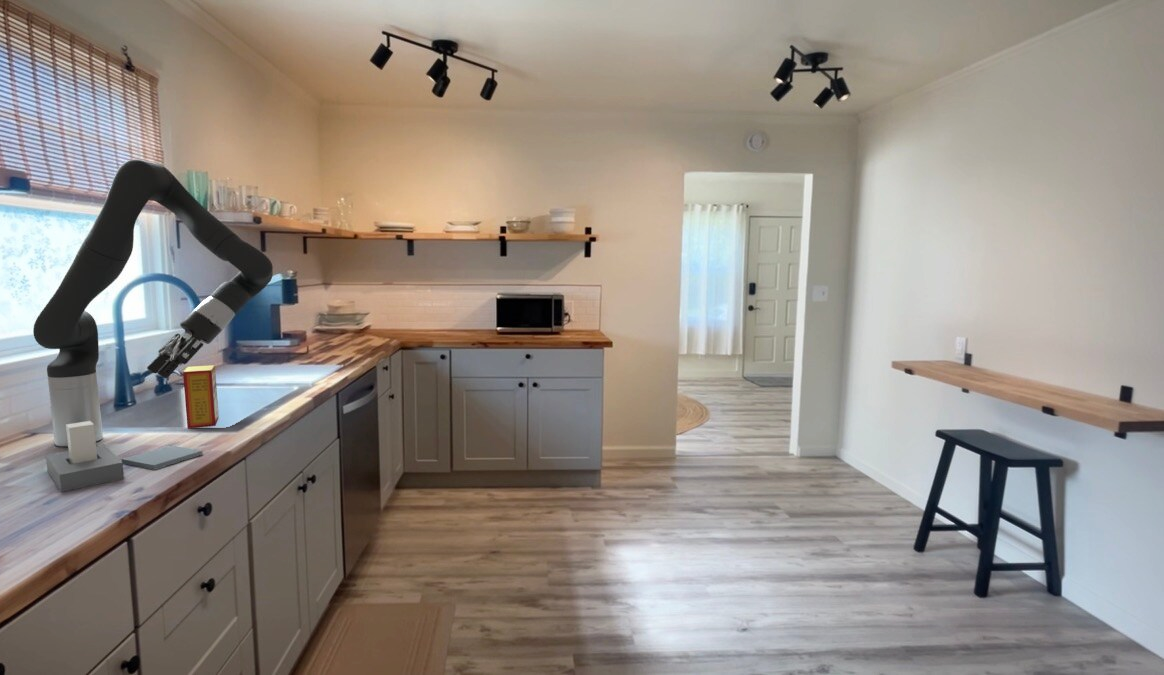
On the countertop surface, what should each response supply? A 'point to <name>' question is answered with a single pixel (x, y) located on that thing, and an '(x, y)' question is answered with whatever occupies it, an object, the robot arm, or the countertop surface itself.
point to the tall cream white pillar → (81, 442)
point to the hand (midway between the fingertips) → (155, 373)
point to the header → (84, 469)
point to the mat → (161, 457)
